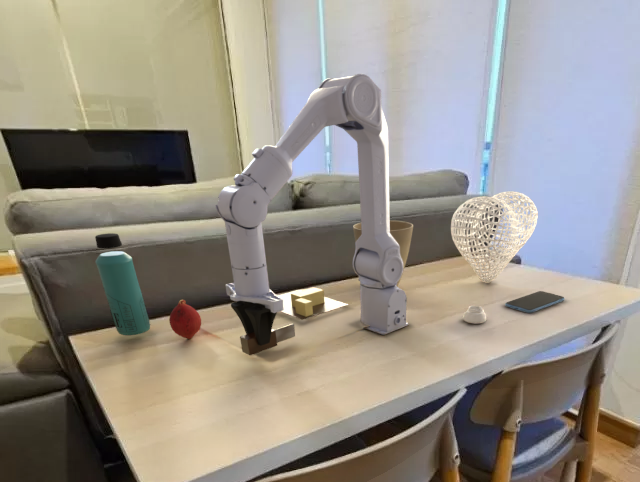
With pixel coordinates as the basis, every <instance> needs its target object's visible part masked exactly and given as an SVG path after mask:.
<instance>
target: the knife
mask: <svg viewBox="0 0 640 482" xmlns="http://www.w3.org/2000/svg"><path fill="white" fill-rule="evenodd" d="M295 337H296V329H295V323H293V322H292V323H289V324H287V325H284V326H281V327H278V328H275V329H273V328H272V331H271V338H270V343H268V344H265V345H262V346H260V345H258V342H257V340H256V336H255V332H252V333H249V334H246V333H245V334H243V335H240V336H239V340H240V346H241V352H242V353H243V354H246V355H247V356H254V355H256V354H258V353H261V352H263V351H266V350H269V349H272V348H275V347H277V346H278V343H281V342H283V341H286V340H289V339H292V338H295Z"/></svg>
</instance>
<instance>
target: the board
mask: <svg viewBox="0 0 640 482" xmlns="http://www.w3.org/2000/svg"><path fill="white" fill-rule="evenodd" d="M302 290H303V289H296V290H292V291H290V292H285V293H282V294H278V295H276V296H277V297H279V298H281V299H283V307H284V310H283V311H280V312H281V313H283V314H286V315H288V316H290V317H293V318H296V319H299V320H301V321H303V320H306V319H309V318H312V317H315V316H318V315H322V314H325V313H327V312H331V311H333V310H338V309H340V308H343V307H346V306H349V305H350V304H348V303H345V302H342V301H339V300H336V299H332V298H330V297H326V296H324V301H325V303H321V304H318V305H315V306H312V308H313V315H310V316H307V317H305V316H303V315H300V314H297V313H296V309H295V307H293V306H292V303H291V293H295V292H298V291H302ZM280 312H279V313H280Z"/></svg>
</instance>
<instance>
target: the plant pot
mask: <svg viewBox="0 0 640 482" xmlns="http://www.w3.org/2000/svg"><path fill="white" fill-rule="evenodd" d="M352 229H353V230H352V231H353V236H354V242H356V241H357V240H358V238H359V237H360V236H361V234H362V228H361V222H358V223H355V224H353V226H352ZM413 229H414V224H413V223H412V222H407V221H404V220H403V221H402V220H390V234H391V235H392V237H393V238H394V239H395V240H396V242H397V243H398V244H399V246H400V255H401V258H402V260H403V265H404V268H403V273H402V276H401V278H400V280H399V281H398V282H397V285H396V286H397V287H398V288H399V285H400V283H401V280H402V277H403V275H404V271H405V267H406V265H407V261H408V256H409V252H410V248H411V243H412V242H411V241H412V237H413V232H414V231H413Z"/></svg>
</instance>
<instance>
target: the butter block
mask: <svg viewBox="0 0 640 482" xmlns="http://www.w3.org/2000/svg"><path fill="white" fill-rule="evenodd" d="M301 290H302V291H298V292H295V293H291V303H292V306H293V307H295V300H296V299H300V298H303V299H306V300H309V301H312V306H315V305H318V304H321V303H325V301H324V297H325V290H324V289H321V288H317V287H316V286H314V287H309V288H305V289H301Z"/></svg>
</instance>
